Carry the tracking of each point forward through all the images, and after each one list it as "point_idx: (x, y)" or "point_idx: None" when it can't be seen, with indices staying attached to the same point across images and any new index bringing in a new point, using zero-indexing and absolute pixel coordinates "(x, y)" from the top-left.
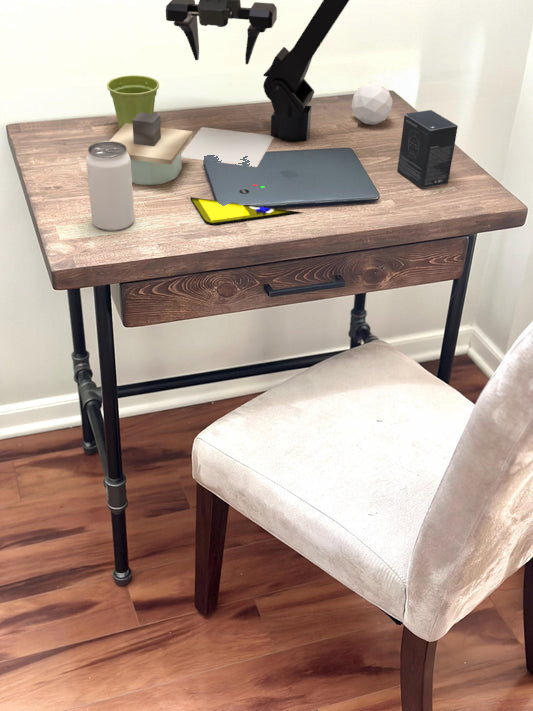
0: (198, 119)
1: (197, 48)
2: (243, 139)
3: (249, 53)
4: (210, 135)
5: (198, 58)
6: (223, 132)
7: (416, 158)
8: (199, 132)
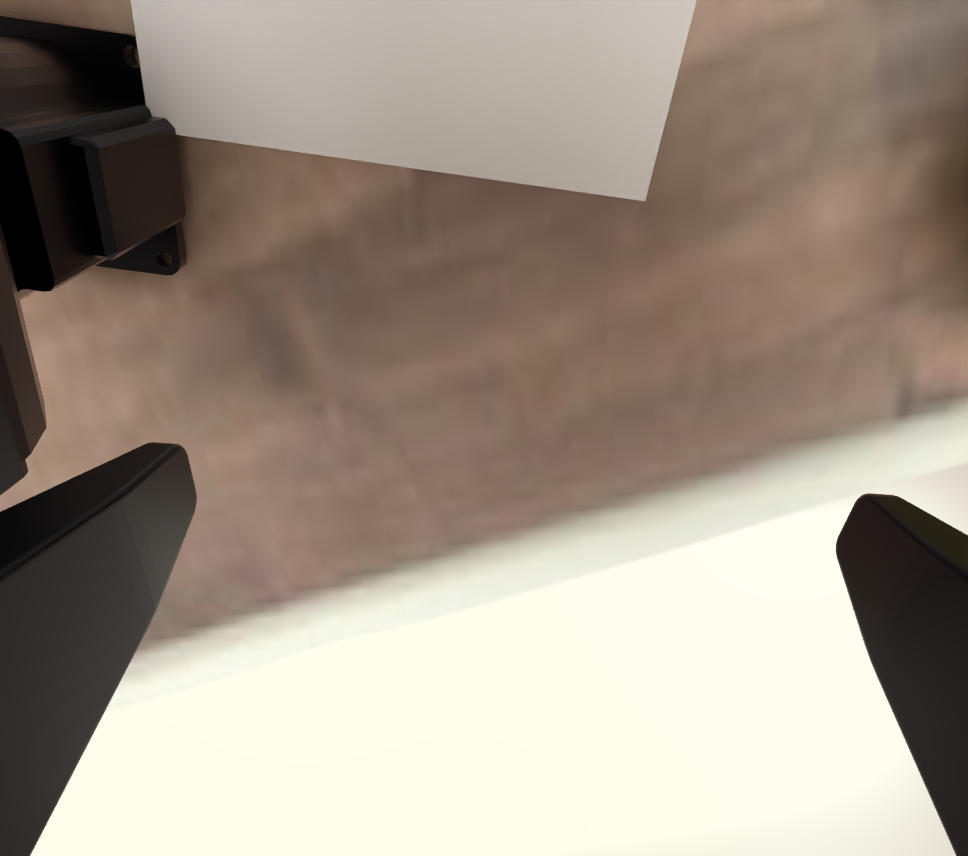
0: (664, 364)
1: (934, 643)
2: (333, 19)
3: (4, 524)
4: (577, 50)
5: (841, 542)
6: (492, 127)
7: None
8: (659, 97)
